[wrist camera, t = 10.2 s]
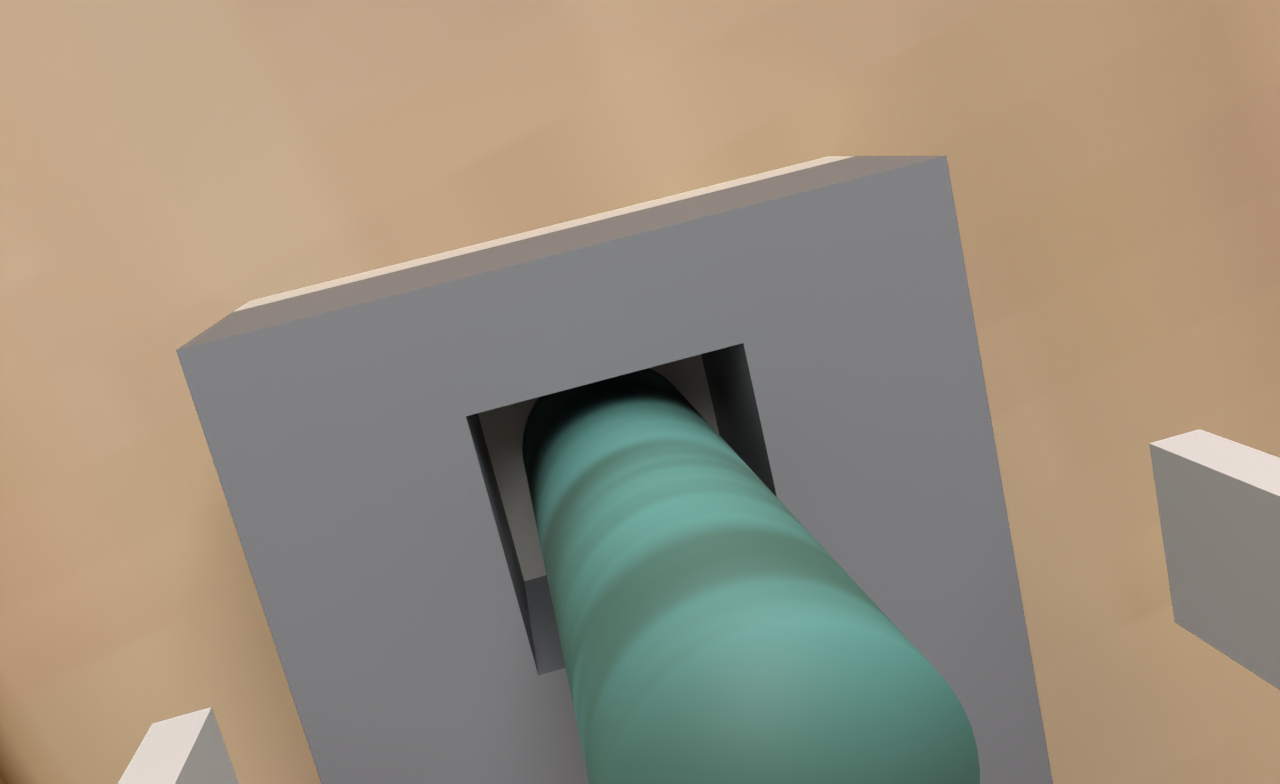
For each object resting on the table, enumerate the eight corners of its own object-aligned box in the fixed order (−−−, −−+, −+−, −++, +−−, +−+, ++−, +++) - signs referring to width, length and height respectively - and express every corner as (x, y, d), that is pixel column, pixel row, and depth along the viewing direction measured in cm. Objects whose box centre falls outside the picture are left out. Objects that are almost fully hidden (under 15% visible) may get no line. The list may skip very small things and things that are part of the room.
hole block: (965, 865, 32) (1098, 1052, 26) (477, 1019, 31) (482, 1261, 24) (827, 156, 28) (946, 155, 21) (249, 300, 26) (176, 350, 20)
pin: (713, 503, 27) (1007, 910, 12) (547, 550, 27) (651, 1027, 12) (674, 340, 26) (943, 573, 12) (502, 386, 26) (555, 686, 11)
